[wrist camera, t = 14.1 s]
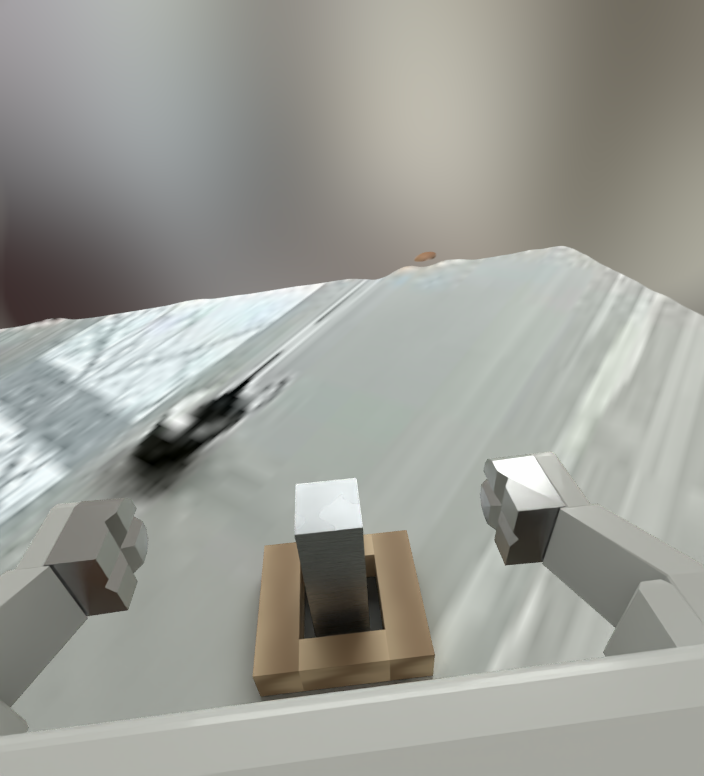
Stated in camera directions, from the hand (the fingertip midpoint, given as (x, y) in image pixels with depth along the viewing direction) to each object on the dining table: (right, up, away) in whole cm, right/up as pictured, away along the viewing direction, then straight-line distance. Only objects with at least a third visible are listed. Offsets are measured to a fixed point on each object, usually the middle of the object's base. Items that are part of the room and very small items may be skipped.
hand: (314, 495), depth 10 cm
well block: (0, -15, +24) cm, 29 cm away
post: (0, -15, +24) cm, 29 cm away
